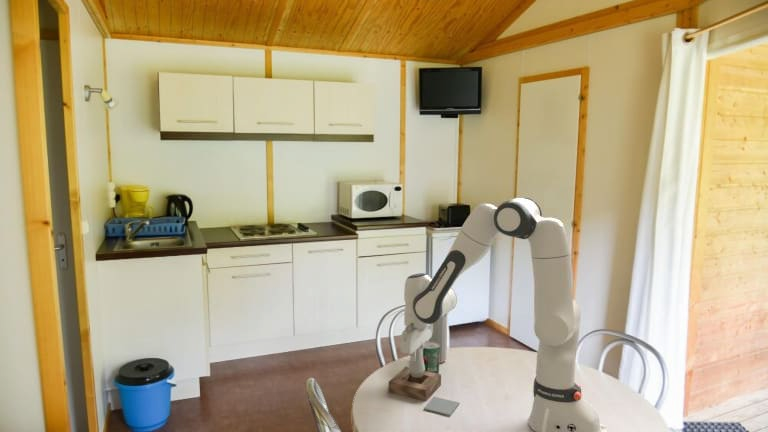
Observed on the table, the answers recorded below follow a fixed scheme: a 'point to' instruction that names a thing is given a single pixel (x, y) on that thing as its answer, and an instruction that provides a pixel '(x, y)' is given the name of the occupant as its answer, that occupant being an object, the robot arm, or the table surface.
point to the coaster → (441, 406)
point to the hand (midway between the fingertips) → (416, 358)
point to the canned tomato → (431, 356)
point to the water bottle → (440, 336)
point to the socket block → (415, 384)
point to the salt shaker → (417, 364)
